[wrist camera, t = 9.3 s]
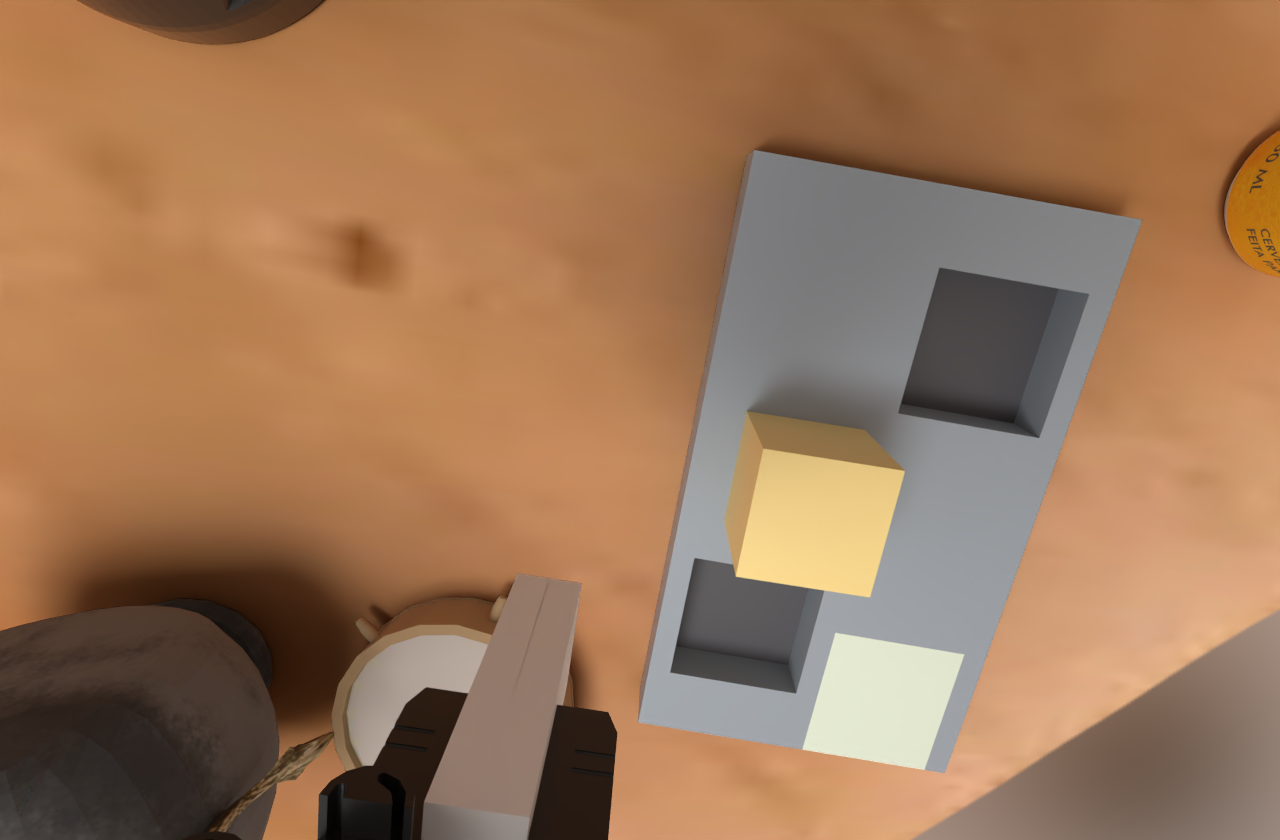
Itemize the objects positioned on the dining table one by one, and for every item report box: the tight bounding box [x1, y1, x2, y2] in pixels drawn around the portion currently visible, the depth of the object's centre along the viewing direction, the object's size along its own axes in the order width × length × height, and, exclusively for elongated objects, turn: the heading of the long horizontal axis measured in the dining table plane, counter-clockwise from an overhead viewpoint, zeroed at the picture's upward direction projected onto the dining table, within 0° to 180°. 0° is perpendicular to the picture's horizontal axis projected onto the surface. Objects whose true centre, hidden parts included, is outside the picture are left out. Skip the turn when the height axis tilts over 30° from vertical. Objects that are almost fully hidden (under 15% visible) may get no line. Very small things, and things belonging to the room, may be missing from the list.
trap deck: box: [638, 150, 1142, 773], centre depth 31 cm, size 26×15×2 cm, turn 170°
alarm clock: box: [331, 595, 574, 771], centre depth 35 cm, size 11×5×15 cm
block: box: [724, 411, 905, 597], centre depth 27 cm, size 5×5×5 cm
